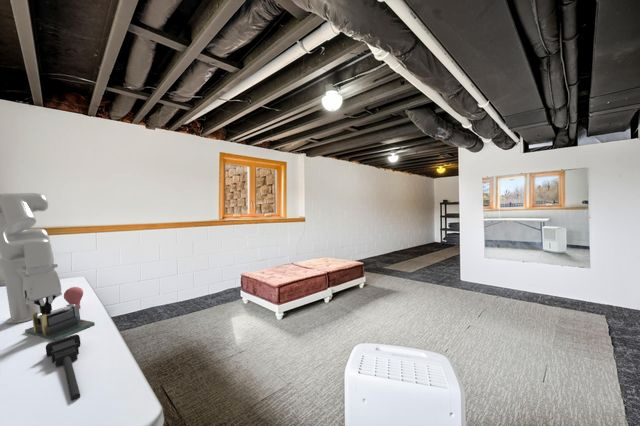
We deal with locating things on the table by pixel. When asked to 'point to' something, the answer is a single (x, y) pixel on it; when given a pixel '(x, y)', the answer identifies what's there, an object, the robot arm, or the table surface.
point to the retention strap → (59, 310)
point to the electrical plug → (66, 359)
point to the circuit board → (58, 324)
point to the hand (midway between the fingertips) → (46, 313)
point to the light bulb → (73, 295)
